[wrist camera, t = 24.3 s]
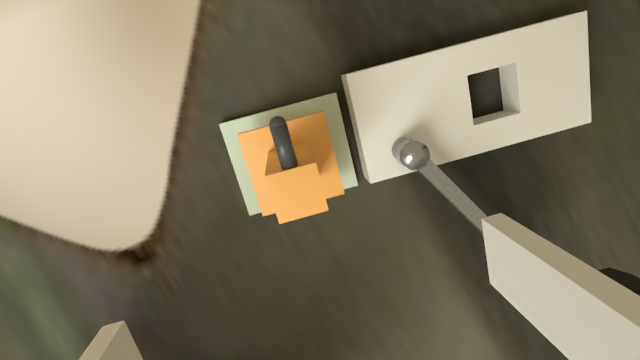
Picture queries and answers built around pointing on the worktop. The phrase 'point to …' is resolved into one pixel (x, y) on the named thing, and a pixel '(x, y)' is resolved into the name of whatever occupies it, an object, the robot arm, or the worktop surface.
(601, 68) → the worktop surface
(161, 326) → the worktop surface
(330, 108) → the pad
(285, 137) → the plug
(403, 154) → the grey metal rod
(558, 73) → the socket block
